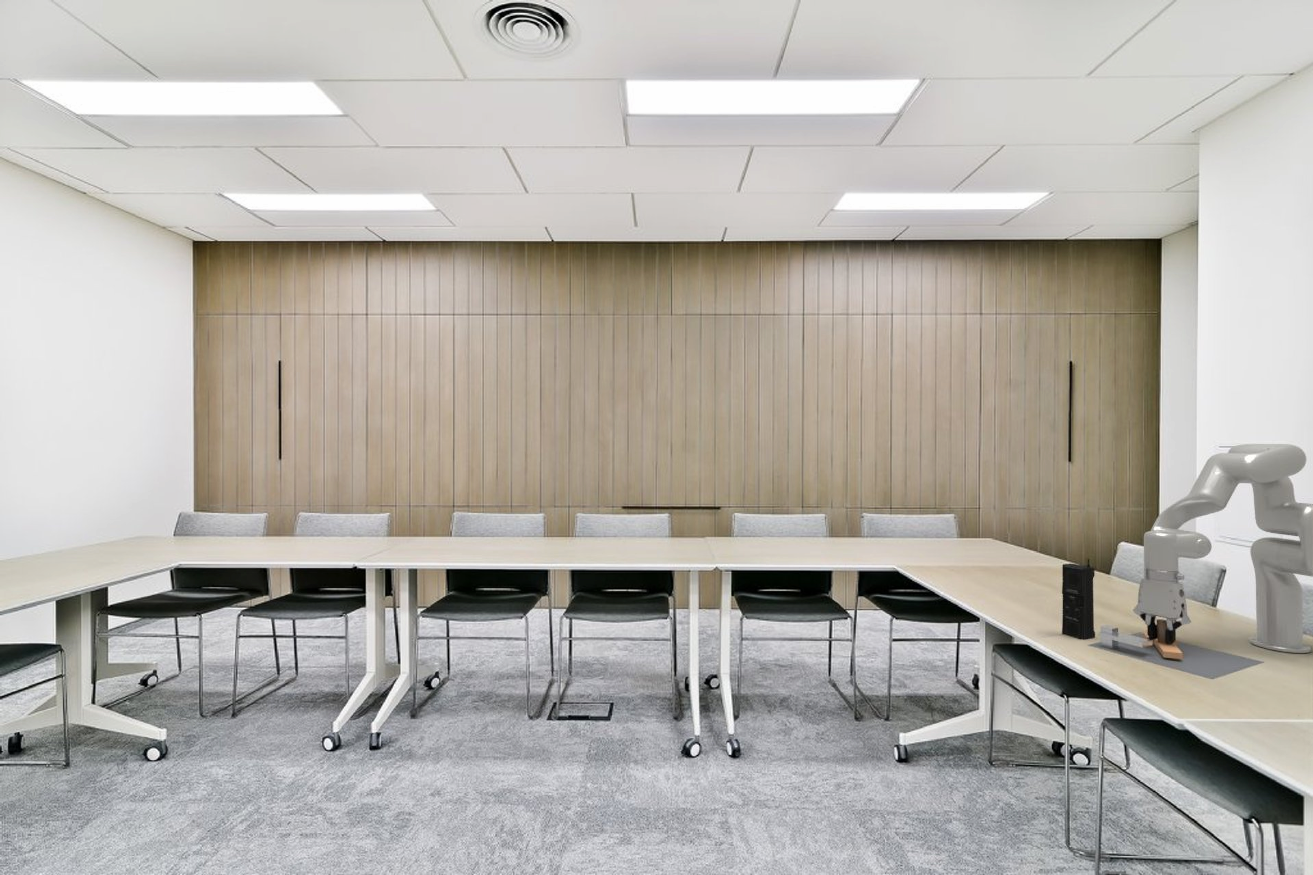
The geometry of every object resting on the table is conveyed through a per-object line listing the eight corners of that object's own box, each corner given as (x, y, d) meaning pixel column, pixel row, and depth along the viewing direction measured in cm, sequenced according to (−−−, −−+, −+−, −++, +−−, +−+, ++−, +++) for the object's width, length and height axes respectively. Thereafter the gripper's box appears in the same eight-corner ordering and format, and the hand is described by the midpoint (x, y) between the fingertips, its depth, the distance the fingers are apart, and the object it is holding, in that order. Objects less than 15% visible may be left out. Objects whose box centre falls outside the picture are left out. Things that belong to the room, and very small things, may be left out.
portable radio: (1057, 637, 190) (1056, 556, 190) (1070, 635, 192) (1069, 554, 192) (1082, 645, 183) (1081, 560, 183) (1096, 642, 185) (1095, 559, 185)
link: (1143, 636, 185) (1141, 611, 185) (1173, 639, 181) (1171, 613, 182) (1156, 656, 166) (1154, 627, 167) (1190, 660, 163) (1188, 630, 163)
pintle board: (1139, 637, 190) (1139, 620, 190) (1264, 667, 164) (1264, 648, 164) (1087, 650, 178) (1087, 632, 178) (1212, 685, 152) (1212, 664, 152)
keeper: (1109, 648, 179) (1108, 624, 179) (1152, 660, 169) (1152, 634, 169) (1098, 651, 177) (1098, 626, 177) (1142, 663, 167) (1142, 637, 167)
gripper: (1203, 580, 168) (1204, 648, 168) (1134, 569, 183) (1135, 631, 182) (1189, 582, 164) (1190, 652, 164) (1120, 571, 179) (1121, 634, 179)
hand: (1161, 640), depth 173 cm, fingers closed on link, 3 cm apart
